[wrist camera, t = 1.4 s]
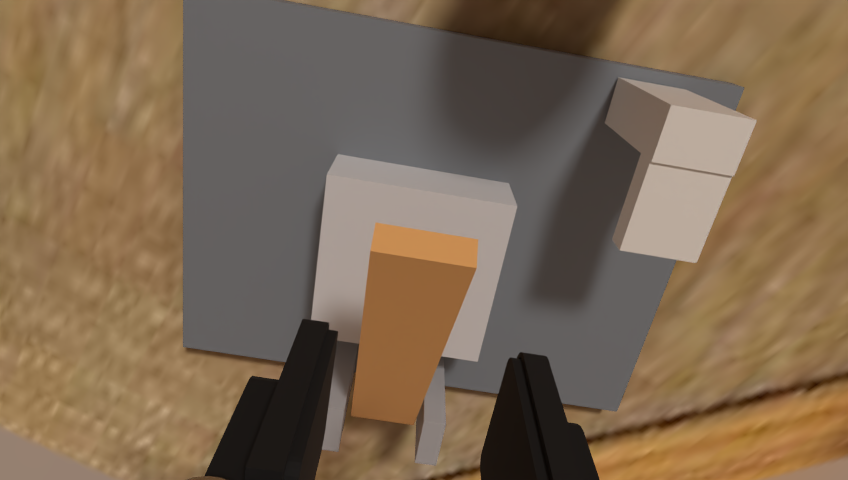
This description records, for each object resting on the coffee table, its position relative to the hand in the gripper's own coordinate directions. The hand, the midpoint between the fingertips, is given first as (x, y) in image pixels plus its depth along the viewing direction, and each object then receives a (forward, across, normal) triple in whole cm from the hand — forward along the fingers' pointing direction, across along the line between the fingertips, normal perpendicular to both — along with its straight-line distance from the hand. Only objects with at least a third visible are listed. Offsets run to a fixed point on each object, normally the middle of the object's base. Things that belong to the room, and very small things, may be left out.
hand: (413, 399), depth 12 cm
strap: (+9, 0, +5) cm, 10 cm away
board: (+17, -1, +3) cm, 18 cm away
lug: (+16, -9, -3) cm, 19 cm away
